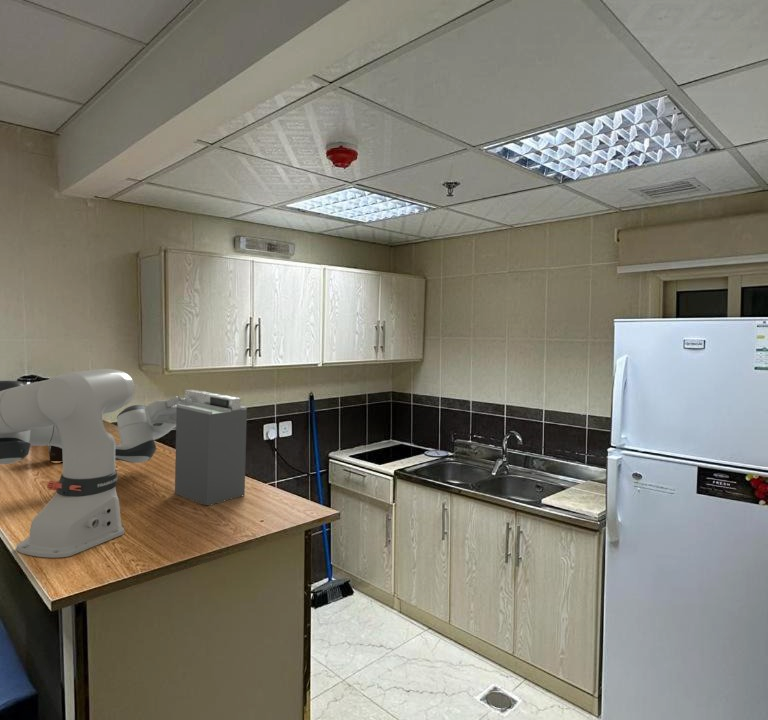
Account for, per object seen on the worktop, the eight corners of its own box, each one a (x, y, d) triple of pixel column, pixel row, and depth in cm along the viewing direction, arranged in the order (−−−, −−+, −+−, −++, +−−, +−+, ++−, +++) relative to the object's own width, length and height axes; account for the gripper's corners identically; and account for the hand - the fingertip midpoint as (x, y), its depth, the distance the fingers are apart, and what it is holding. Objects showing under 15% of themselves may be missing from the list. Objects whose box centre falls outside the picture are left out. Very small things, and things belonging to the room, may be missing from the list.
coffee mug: (72, 463, 183) (72, 435, 182) (43, 464, 180) (43, 436, 179) (78, 455, 194) (78, 428, 193) (51, 456, 190) (51, 429, 190)
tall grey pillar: (244, 495, 157) (246, 407, 155) (206, 506, 146) (209, 411, 145) (212, 484, 166) (214, 400, 165) (174, 493, 156) (176, 404, 154)
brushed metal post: (240, 410, 154) (240, 398, 154) (230, 411, 152) (230, 399, 151) (193, 400, 169) (193, 389, 169) (183, 401, 166) (183, 390, 166)
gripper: (201, 418, 182) (222, 403, 174) (144, 426, 166) (165, 409, 158) (196, 402, 184) (217, 386, 176) (139, 408, 167) (160, 390, 160)
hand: (192, 397), depth 167 cm, fingers open, 8 cm apart
